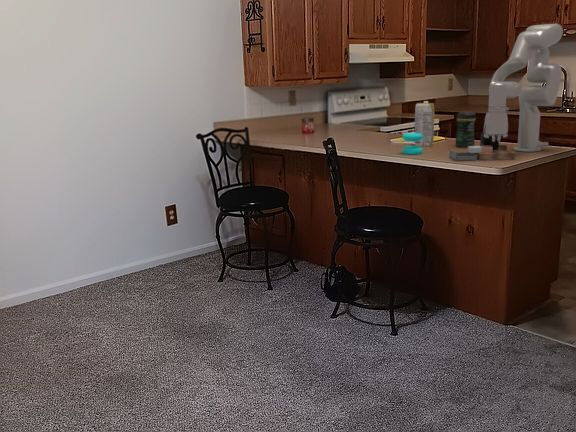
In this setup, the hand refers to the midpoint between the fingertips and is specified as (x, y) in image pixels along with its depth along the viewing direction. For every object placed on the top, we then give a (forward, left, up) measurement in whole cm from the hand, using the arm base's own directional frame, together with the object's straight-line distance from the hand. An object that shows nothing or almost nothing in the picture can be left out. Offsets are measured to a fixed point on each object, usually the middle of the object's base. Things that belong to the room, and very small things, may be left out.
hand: (494, 149), depth 275 cm
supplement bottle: (-1, -16, -4) cm, 17 cm away
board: (+1, 0, -4) cm, 4 cm away
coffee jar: (+4, -38, -4) cm, 38 cm away
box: (+15, 0, -4) cm, 15 cm away
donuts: (+35, -21, -4) cm, 41 cm away
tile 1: (+9, 0, -1) cm, 9 cm away
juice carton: (+24, -47, -4) cm, 53 cm away
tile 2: (+4, 0, -1) cm, 4 cm away
